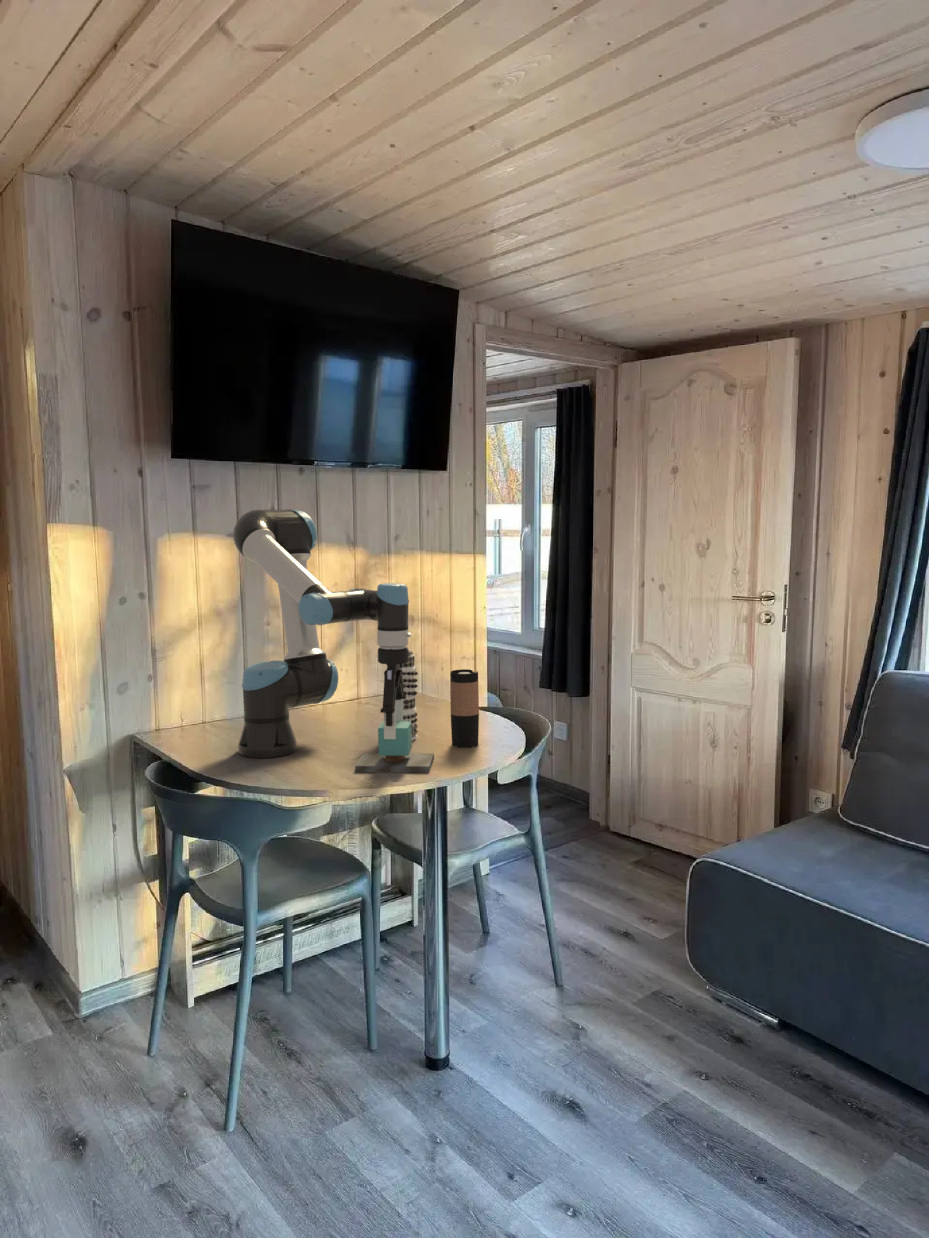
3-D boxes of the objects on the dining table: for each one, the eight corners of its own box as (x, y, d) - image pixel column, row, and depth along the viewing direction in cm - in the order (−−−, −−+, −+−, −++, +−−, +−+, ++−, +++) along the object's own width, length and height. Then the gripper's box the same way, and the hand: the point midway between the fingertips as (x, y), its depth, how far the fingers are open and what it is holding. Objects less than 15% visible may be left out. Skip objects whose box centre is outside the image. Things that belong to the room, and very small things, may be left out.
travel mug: (449, 747, 230) (448, 673, 228) (453, 740, 238) (452, 669, 235) (477, 748, 229) (476, 674, 227) (480, 741, 236) (480, 669, 234)
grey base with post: (355, 771, 208) (354, 733, 207) (363, 758, 220) (363, 722, 219) (429, 772, 207) (428, 733, 206) (434, 759, 219) (433, 722, 218)
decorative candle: (420, 733, 246) (418, 647, 243) (417, 741, 237) (416, 651, 234) (388, 733, 246) (386, 647, 243) (384, 742, 237) (382, 652, 234)
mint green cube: (378, 755, 210) (378, 728, 209) (383, 747, 217) (382, 721, 216) (408, 755, 209) (407, 728, 208) (411, 747, 216) (411, 721, 216)
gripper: (401, 655, 198) (402, 745, 200) (414, 639, 222) (415, 720, 225) (369, 654, 198) (370, 744, 201) (385, 639, 223) (386, 719, 225)
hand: (393, 731), depth 213 cm, fingers open, 13 cm apart
